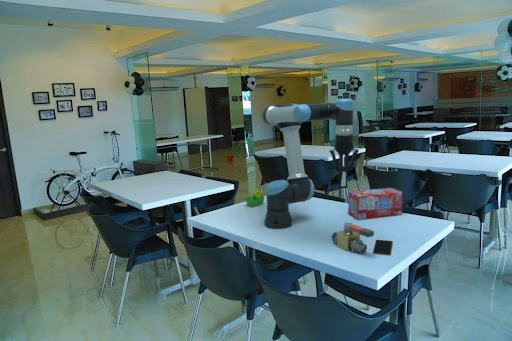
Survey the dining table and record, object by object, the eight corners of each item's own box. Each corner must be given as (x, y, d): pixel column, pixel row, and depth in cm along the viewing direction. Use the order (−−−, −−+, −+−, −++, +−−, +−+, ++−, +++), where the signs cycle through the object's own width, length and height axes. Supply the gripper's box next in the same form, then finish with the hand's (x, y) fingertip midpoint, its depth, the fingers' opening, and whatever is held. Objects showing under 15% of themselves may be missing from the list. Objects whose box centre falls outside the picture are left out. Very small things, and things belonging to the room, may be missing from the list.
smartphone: (372, 254, 169) (372, 252, 169) (375, 241, 185) (375, 239, 184) (391, 256, 167) (391, 254, 166) (393, 242, 182) (393, 240, 182)
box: (390, 209, 232) (390, 186, 230) (403, 215, 220) (403, 191, 217) (347, 214, 227) (347, 191, 224) (357, 220, 214) (357, 196, 212)
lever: (367, 241, 164) (367, 232, 163) (342, 231, 177) (342, 223, 176) (374, 239, 166) (374, 231, 165) (348, 229, 179) (348, 222, 178)
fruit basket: (257, 202, 260) (256, 185, 258) (267, 204, 254) (266, 187, 251) (244, 206, 252) (243, 188, 250) (254, 208, 246) (253, 190, 244)
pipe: (329, 245, 184) (329, 228, 182) (341, 241, 187) (340, 225, 186) (356, 257, 168) (356, 239, 167) (368, 254, 172) (369, 235, 170)
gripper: (330, 135, 172) (330, 188, 177) (360, 134, 171) (359, 187, 176) (328, 133, 179) (327, 184, 184) (357, 132, 179) (355, 183, 184)
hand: (343, 185), depth 180 cm, fingers closed
